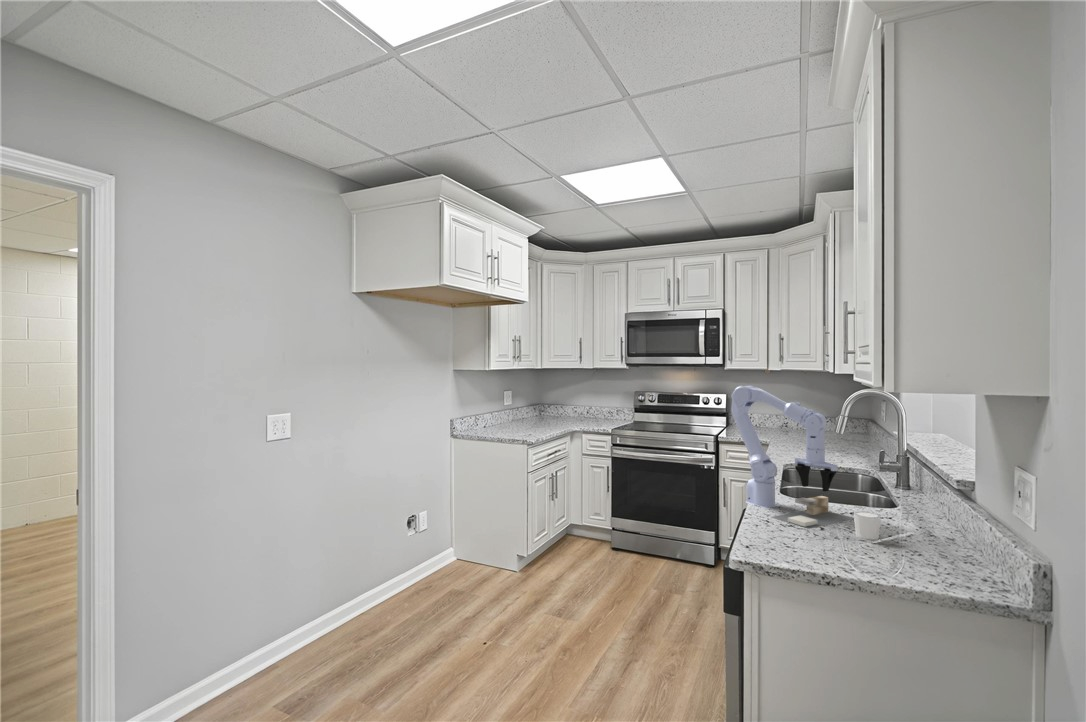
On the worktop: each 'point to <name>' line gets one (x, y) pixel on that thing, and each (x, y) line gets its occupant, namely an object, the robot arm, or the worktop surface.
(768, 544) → the worktop surface
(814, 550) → the worktop surface
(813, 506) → the turner
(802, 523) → the tile
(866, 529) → the white cup
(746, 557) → the worktop surface
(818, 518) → the mat
